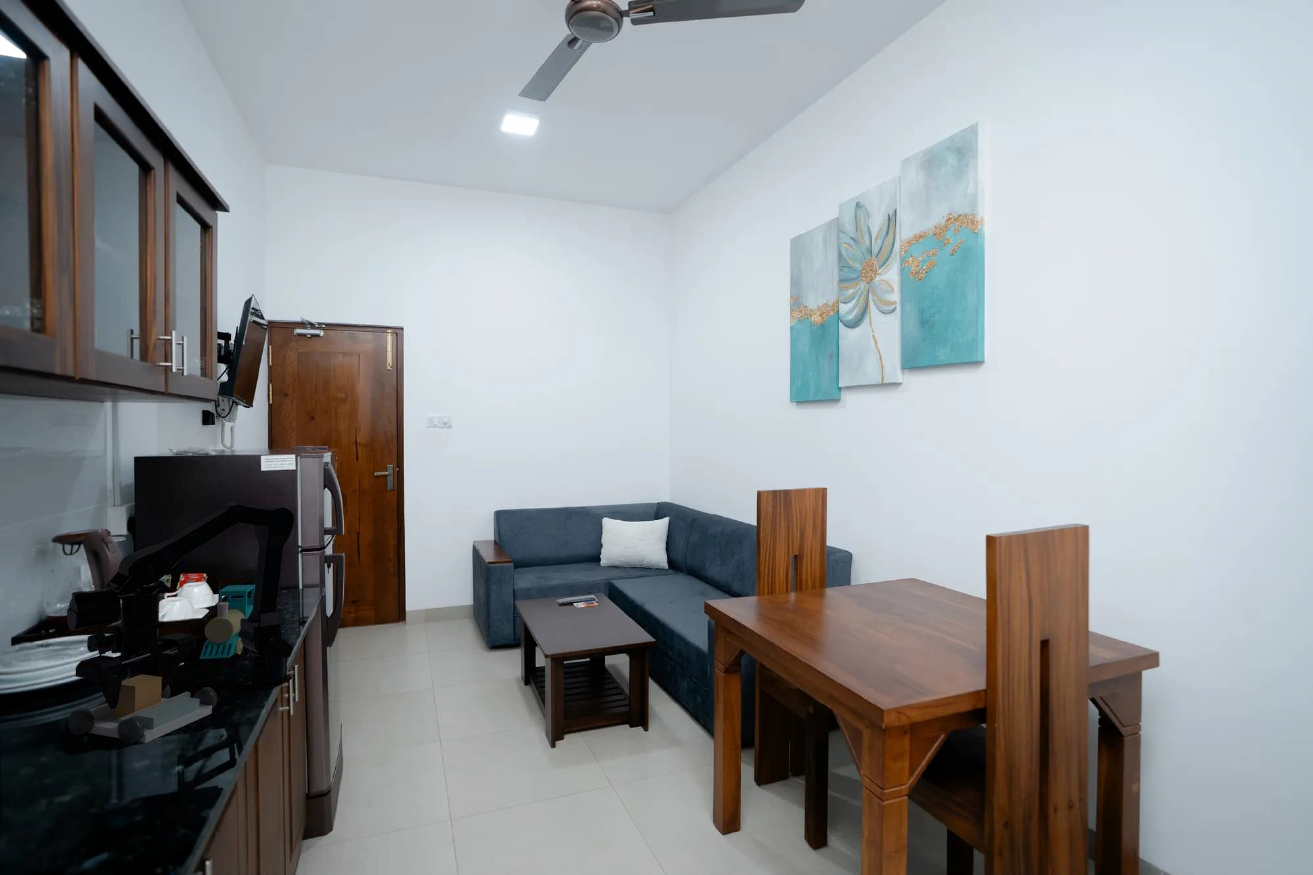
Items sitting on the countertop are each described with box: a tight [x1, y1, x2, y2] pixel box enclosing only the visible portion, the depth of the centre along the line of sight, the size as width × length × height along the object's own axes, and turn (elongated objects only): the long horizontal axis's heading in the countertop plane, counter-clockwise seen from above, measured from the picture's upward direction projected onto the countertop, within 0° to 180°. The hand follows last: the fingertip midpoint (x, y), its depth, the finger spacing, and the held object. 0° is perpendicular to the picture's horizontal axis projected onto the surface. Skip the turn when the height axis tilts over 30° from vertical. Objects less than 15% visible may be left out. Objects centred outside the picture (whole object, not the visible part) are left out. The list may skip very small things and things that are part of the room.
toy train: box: [199, 584, 255, 660], centre depth 164 cm, size 8×17×15 cm, turn 15°
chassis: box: [67, 684, 218, 746], centre depth 123 cm, size 16×17×4 cm
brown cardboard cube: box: [114, 674, 162, 716], centre depth 124 cm, size 5×5×6 cm
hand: (138, 698), depth 124 cm, fingers open, 9 cm apart
